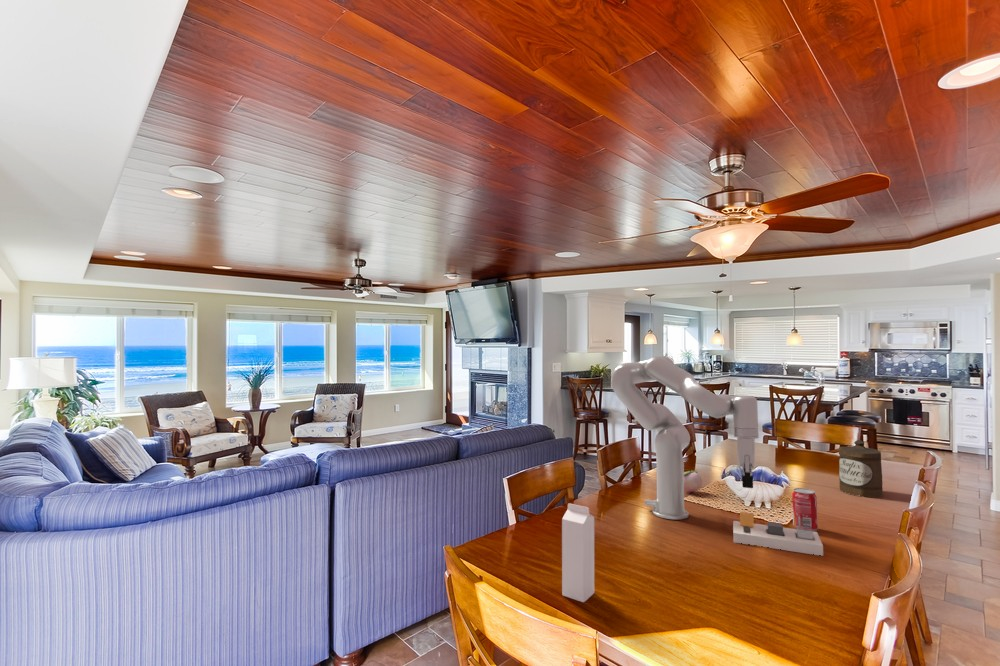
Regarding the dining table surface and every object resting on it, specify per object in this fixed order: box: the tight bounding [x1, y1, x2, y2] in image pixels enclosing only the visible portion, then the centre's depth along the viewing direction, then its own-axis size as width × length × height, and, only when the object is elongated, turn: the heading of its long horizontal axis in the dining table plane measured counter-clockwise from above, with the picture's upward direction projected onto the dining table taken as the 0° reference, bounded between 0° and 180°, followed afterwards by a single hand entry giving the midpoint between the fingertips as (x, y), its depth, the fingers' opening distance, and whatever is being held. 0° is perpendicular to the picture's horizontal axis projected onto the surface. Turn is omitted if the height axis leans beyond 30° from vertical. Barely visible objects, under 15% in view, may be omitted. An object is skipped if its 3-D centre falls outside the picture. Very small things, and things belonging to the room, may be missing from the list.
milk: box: [561, 502, 595, 604], centre depth 124 cm, size 6×6×22 cm
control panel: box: [732, 520, 824, 557], centre depth 157 cm, size 24×12×3 cm, turn 65°
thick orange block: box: [739, 511, 755, 533], centre depth 162 cm, size 4×2×7 cm, turn 65°
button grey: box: [795, 525, 813, 540], centre depth 154 cm, size 4×4×4 cm
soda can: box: [791, 487, 819, 532], centre depth 168 cm, size 7×7×13 cm
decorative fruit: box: [684, 468, 703, 494], centre depth 210 cm, size 9×8×10 cm
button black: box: [767, 521, 784, 536], centre depth 157 cm, size 4×4×4 cm
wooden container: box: [838, 439, 883, 498], centre depth 211 cm, size 15×15×22 cm
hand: (747, 487), depth 168 cm, fingers closed
